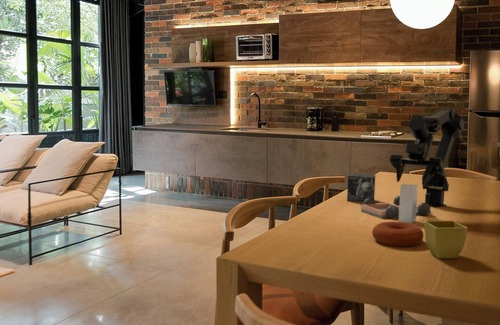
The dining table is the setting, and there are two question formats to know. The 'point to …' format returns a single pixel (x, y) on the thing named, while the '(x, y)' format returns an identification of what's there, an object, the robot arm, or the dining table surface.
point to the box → (360, 187)
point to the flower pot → (445, 238)
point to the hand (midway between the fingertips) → (410, 183)
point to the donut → (398, 234)
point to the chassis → (390, 208)
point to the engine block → (408, 203)
